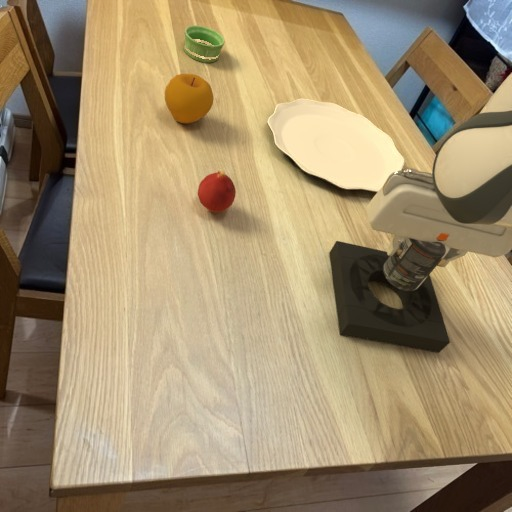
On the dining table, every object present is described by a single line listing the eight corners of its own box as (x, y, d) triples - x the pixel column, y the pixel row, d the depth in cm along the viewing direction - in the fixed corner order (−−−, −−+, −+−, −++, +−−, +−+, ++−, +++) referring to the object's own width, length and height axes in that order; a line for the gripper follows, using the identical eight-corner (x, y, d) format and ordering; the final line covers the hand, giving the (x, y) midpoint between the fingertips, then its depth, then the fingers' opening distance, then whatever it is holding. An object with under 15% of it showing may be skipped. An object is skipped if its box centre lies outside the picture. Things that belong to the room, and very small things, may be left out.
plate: (285, 193, 87) (290, 183, 86) (252, 99, 105) (255, 89, 104) (420, 204, 98) (427, 195, 96) (369, 117, 116) (374, 108, 114)
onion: (223, 197, 82) (235, 159, 76) (233, 222, 79) (246, 184, 73) (190, 197, 79) (200, 158, 74) (198, 223, 76) (209, 184, 70)
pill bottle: (426, 285, 73) (471, 233, 65) (401, 297, 69) (446, 244, 61) (399, 256, 75) (439, 203, 67) (373, 267, 72) (413, 212, 64)
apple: (185, 140, 89) (194, 97, 83) (149, 114, 91) (156, 70, 85) (216, 125, 95) (227, 84, 89) (182, 101, 97) (191, 59, 91)
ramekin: (224, 53, 116) (229, 35, 112) (214, 69, 109) (218, 50, 106) (188, 39, 115) (192, 20, 112) (176, 54, 109) (179, 35, 106)
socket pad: (439, 352, 73) (450, 342, 71) (339, 335, 70) (348, 323, 67) (416, 271, 84) (425, 259, 82) (329, 252, 80) (336, 240, 78)
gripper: (401, 182, 55) (350, 260, 65) (553, 220, 59) (483, 288, 69) (391, 149, 60) (344, 227, 69) (533, 187, 64) (470, 255, 74)
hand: (415, 258), depth 69 cm, fingers closed on pill bottle, 6 cm apart
